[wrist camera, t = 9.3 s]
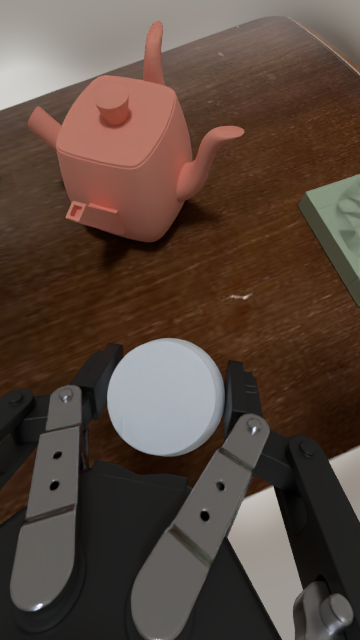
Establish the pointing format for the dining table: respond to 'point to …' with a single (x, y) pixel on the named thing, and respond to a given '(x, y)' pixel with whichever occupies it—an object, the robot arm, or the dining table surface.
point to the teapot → (129, 151)
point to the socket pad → (338, 227)
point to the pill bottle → (166, 397)
